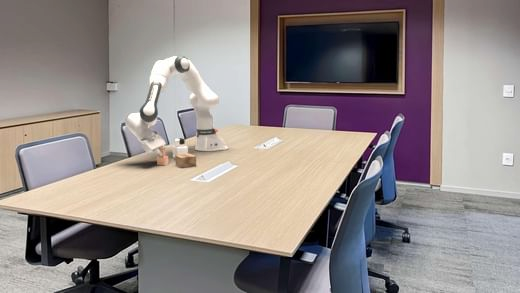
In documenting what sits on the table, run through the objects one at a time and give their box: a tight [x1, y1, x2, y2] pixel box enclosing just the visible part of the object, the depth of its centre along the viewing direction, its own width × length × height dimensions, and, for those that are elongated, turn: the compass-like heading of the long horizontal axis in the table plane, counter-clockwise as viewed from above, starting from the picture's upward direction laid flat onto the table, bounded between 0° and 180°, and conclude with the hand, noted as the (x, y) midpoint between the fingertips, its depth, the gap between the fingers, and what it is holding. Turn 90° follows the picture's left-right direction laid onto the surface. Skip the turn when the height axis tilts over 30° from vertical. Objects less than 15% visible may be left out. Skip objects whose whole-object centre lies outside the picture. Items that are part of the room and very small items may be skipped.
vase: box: [156, 146, 169, 166], centre depth 265 cm, size 5×5×10 cm
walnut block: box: [174, 153, 197, 169], centre depth 261 cm, size 9×9×6 cm
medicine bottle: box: [171, 137, 189, 159], centre depth 283 cm, size 7×7×12 cm
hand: (163, 154), depth 264 cm, fingers closed on vase, 2 cm apart
